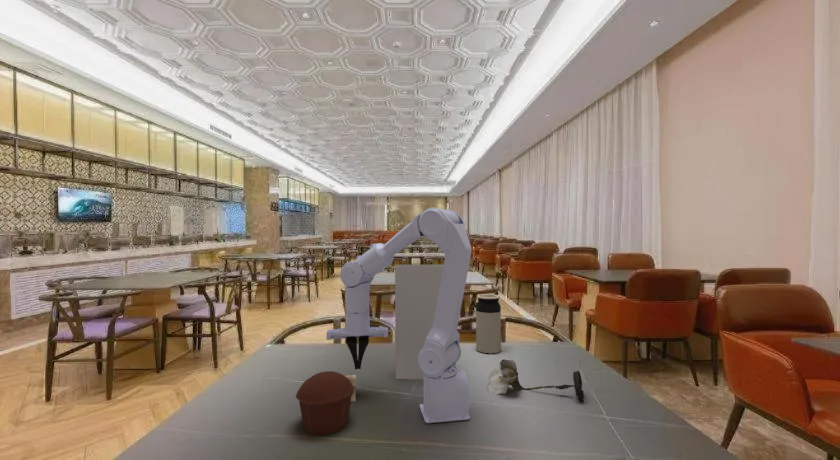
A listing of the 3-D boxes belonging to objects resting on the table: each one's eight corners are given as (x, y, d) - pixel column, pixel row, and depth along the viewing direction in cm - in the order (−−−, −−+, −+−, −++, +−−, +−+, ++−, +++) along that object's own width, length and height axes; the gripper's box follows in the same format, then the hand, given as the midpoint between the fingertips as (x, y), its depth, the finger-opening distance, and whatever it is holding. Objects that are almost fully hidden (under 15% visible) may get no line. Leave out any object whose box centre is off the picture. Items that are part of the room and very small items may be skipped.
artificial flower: (586, 414, 84) (579, 374, 82) (486, 407, 94) (479, 372, 92) (585, 388, 92) (579, 351, 90) (493, 385, 102) (486, 351, 100)
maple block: (355, 375, 95) (314, 377, 94) (355, 386, 89) (311, 388, 87) (355, 391, 95) (314, 393, 94) (355, 403, 89) (311, 406, 87)
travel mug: (494, 355, 120) (493, 298, 120) (472, 351, 125) (471, 296, 125) (505, 349, 126) (504, 295, 126) (483, 345, 131) (483, 293, 131)
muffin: (332, 405, 86) (332, 361, 86) (365, 420, 79) (365, 372, 79) (284, 426, 77) (284, 376, 77) (317, 445, 70) (316, 391, 70)
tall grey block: (449, 372, 106) (448, 264, 106) (449, 380, 100) (448, 266, 101) (398, 371, 107) (398, 264, 107) (395, 378, 102) (395, 266, 102)
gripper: (386, 307, 97) (386, 360, 97) (328, 309, 95) (328, 363, 95) (388, 312, 90) (388, 370, 90) (325, 315, 88) (325, 374, 88)
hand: (357, 367), depth 92 cm, fingers closed
